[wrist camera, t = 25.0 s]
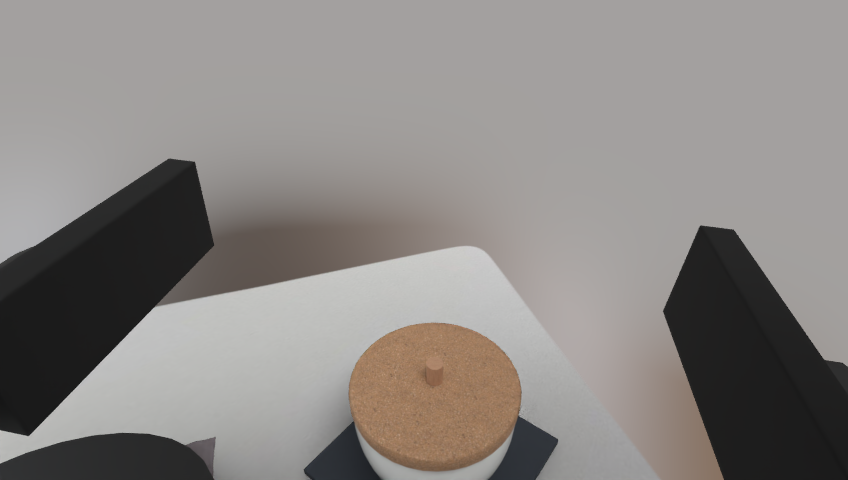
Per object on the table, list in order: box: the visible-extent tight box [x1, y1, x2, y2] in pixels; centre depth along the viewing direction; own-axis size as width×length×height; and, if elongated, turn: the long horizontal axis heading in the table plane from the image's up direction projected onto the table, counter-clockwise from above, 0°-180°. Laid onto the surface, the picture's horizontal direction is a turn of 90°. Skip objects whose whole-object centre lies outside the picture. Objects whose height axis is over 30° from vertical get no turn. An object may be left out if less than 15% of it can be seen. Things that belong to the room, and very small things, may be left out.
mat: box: [304, 416, 558, 480], centre depth 34 cm, size 13×13×1 cm
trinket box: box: [349, 323, 521, 480], centre depth 32 cm, size 11×11×9 cm
